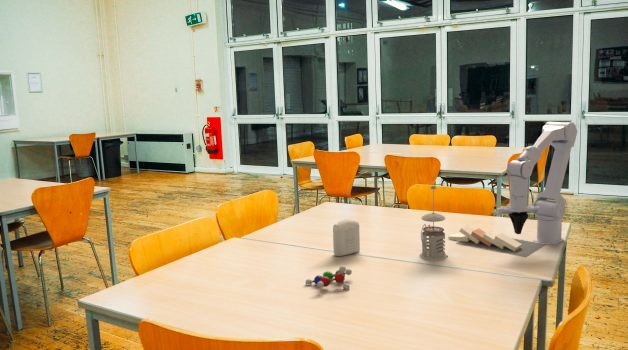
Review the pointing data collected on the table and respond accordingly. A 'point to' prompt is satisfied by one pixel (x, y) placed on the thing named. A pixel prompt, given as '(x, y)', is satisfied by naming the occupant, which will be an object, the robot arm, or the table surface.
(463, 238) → the domino
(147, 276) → the table surface
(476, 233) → the terracotta domino
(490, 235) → the domino
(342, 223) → the photo printer
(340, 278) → the molecule model
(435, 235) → the french press
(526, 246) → the mat
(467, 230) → the domino
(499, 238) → the domino
